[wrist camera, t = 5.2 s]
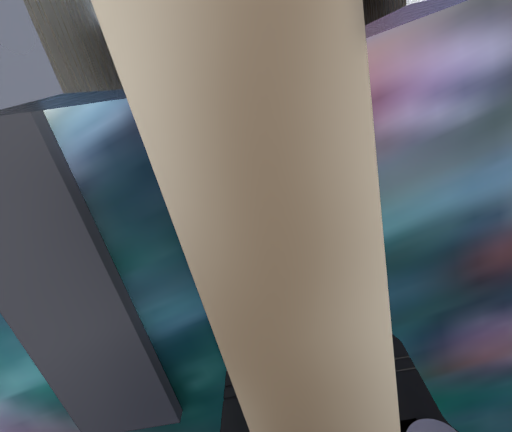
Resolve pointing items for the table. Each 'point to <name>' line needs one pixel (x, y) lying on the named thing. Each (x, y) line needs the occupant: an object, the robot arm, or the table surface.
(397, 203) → the table surface
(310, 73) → the birch rail
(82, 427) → the rubber mat
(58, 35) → the hook rack
